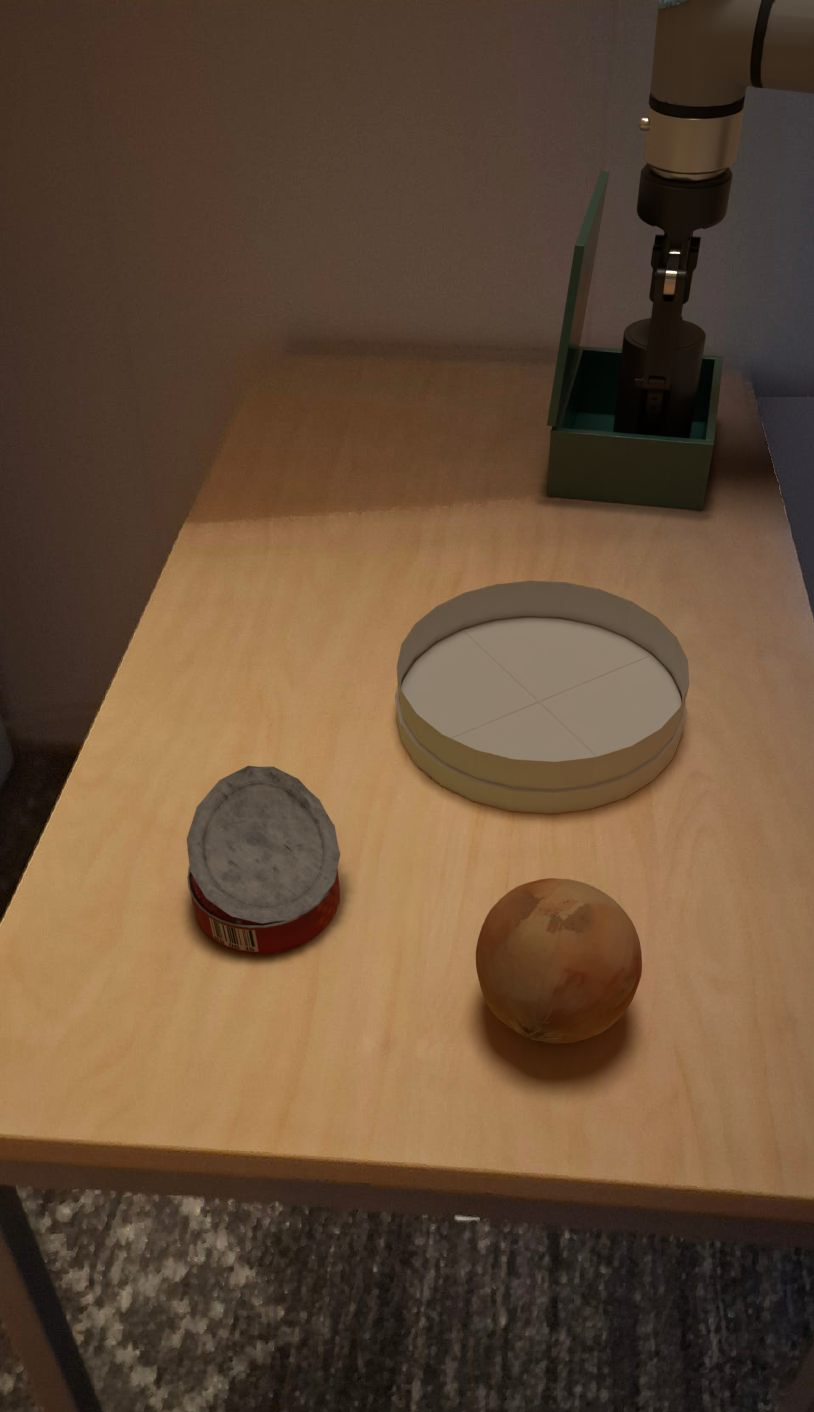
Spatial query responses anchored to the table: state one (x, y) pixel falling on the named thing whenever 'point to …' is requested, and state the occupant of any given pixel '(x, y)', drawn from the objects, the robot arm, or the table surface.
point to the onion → (558, 960)
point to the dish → (541, 696)
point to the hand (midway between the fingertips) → (651, 430)
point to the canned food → (262, 862)
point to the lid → (577, 296)
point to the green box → (628, 442)
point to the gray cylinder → (682, 375)
